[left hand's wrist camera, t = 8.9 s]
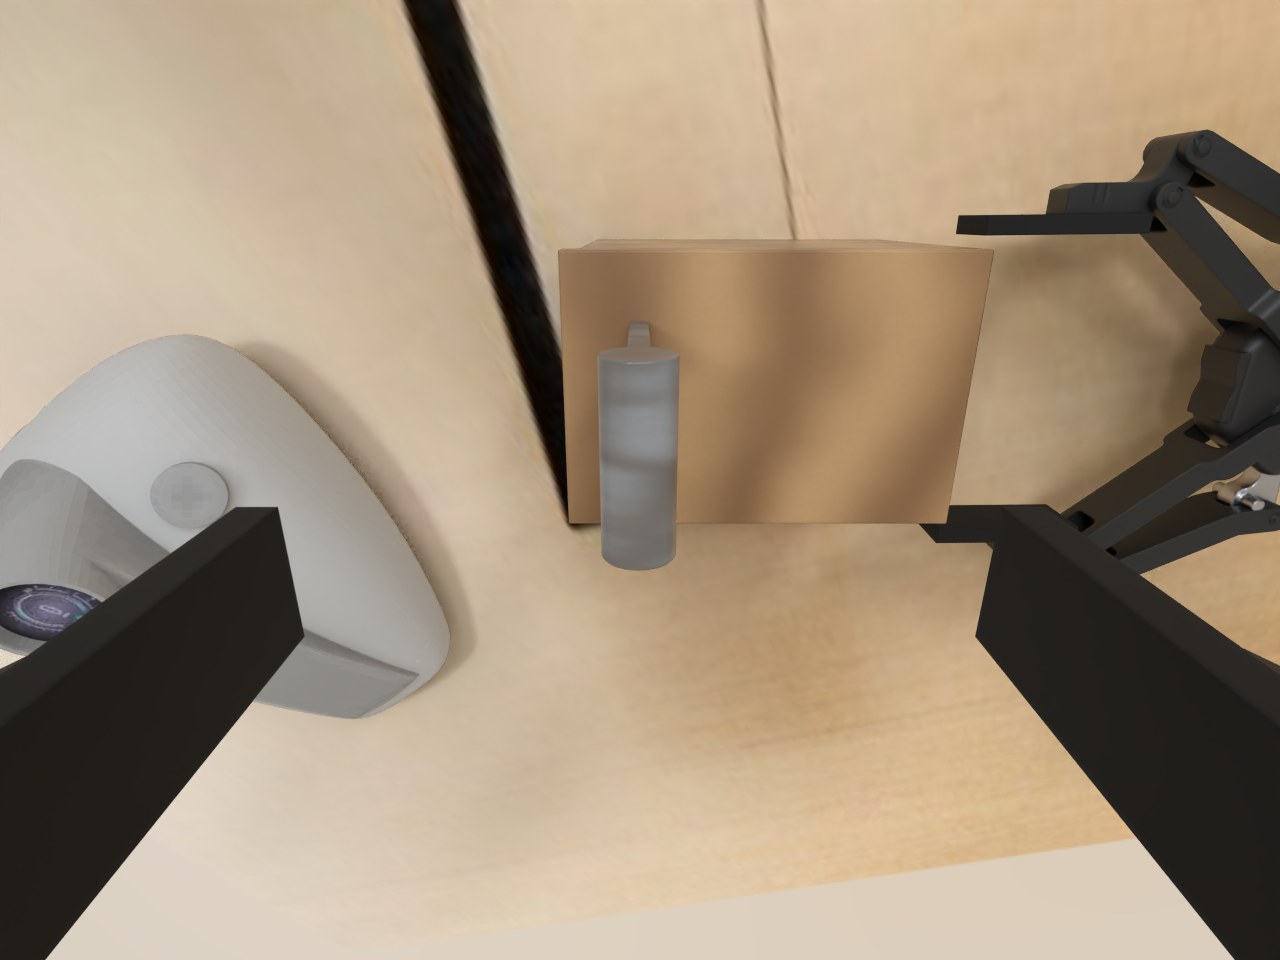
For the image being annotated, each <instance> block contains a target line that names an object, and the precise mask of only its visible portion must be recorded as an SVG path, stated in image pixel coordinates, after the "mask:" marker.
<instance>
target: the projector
mask: <svg viewBox="0 0 1280 960" xmlns="http://www.w3.org/2000/svg"><path fill="white" fill-rule="evenodd" d="M235 507H278V509H279V514H280V519H281V524H282V529H283V533H284V538H285V543H286V548H287V553H288V558H289V563H290V567H291V572H292V577H293V582H294V587H295V592H296V597H297V601H298V606H299V611H300V616H301V621H302V626H303V631H304V635H305V637H304V638H303V639H302V640H301V642H300V643H299V644H298V645H297V647H296V648H295V649H294V650H293V652H292V653H291V654H290V655H289V657H288V658H287V659H286V660H285V662H284V663H283V664H282V665H281V667H280V668H279V669H278V670H277V672H276V673H275V674H274V675H273V677H272V678H271V679H270V680H269V682H268V683H267V684H266V685H265V687H264V688H263V689H262V690H261V692H260V693H259V694H258V695H257V697H256V698H255V699H254V700H253V702H257V703H262V704H266V705H271V706H275V707H280V708H284V709H289V710H295V711H300V712H306V713H311V714H317V715H322V716H329V717H337V718H345V719H360V718H365V717H369V716H372V715H375V714H377V713H380V712H382V711H384V710H386V709H387V708H389V707H391V706H393V705H394V704H396V703H398V702H399V701H401V700H402V699H404V698H405V697H407V696H408V695H410V694H411V693H413V692H414V691H416V690H417V689H419V688H420V687H421V686H423V685H424V684H425V683H426V682H428V681H429V680H430V679H431V678H432V677H433V676H434V675H435V674H436V673H437V672H438V671H439V670H440V668H441V667H442V666H443V664H444V662H445V660H446V658H447V655H448V651H449V647H450V632H449V628H448V624H447V622H446V619H445V616H444V613H443V611H442V608H441V606H440V604H439V602H438V600H437V597H436V595H435V593H434V591H433V589H432V587H431V585H430V583H429V581H428V579H427V577H426V575H425V573H424V571H423V569H422V568H421V566H420V564H419V562H418V561H417V559H416V557H415V555H414V554H413V552H412V550H411V548H410V547H409V545H408V543H407V542H406V540H405V538H404V537H403V535H402V534H401V532H400V530H399V529H398V527H397V526H396V524H395V523H394V521H393V520H392V518H391V517H390V515H389V514H388V512H387V511H386V509H385V508H384V506H383V505H382V504H381V502H380V501H379V499H378V498H377V497H376V495H375V494H374V493H373V491H372V490H371V489H370V487H369V486H368V485H367V483H366V482H365V481H364V479H363V478H362V477H361V475H360V474H359V473H358V472H357V470H356V469H355V468H354V467H353V465H352V464H351V463H350V462H349V460H348V459H347V458H346V457H345V456H344V454H343V453H342V452H341V451H340V449H339V448H338V447H337V446H336V445H335V444H334V443H333V441H332V440H331V439H330V438H329V437H328V436H327V434H326V433H325V432H324V431H323V430H322V429H321V428H320V426H319V425H318V424H317V423H316V422H315V421H314V420H313V419H312V418H311V417H310V416H309V414H308V413H307V412H306V411H305V410H304V409H303V408H302V407H301V406H300V405H299V404H298V403H297V402H296V401H295V400H294V399H293V398H292V397H291V396H290V395H289V394H288V393H287V392H286V391H285V390H284V389H283V388H282V387H281V386H280V385H279V384H278V383H277V382H276V381H275V380H274V379H273V378H271V377H270V376H269V375H268V374H267V373H266V372H265V371H264V370H263V369H261V368H260V367H259V366H257V365H256V364H255V363H254V362H252V361H251V360H250V359H248V358H247V357H246V356H244V355H243V354H241V353H239V352H238V351H236V350H235V349H233V348H231V347H230V346H227V345H225V344H223V343H221V342H219V341H216V340H213V339H210V338H207V337H202V336H197V335H171V336H166V337H161V338H156V339H152V340H149V341H146V342H143V343H140V344H137V345H134V346H132V347H130V348H127V349H125V350H123V351H121V352H119V353H117V354H115V355H113V356H111V357H110V358H108V359H106V360H105V361H103V362H101V363H100V364H98V365H97V366H95V367H94V368H92V369H91V370H90V371H88V372H87V373H85V374H84V375H83V376H81V377H80V378H79V379H78V380H76V381H75V382H74V383H72V384H71V385H70V386H69V387H67V388H66V389H65V390H64V391H62V392H61V393H60V394H59V395H58V396H56V397H55V398H54V399H53V400H52V401H51V402H49V403H48V404H47V405H46V406H45V407H44V408H43V409H42V410H41V411H40V412H39V414H38V415H37V416H36V417H35V418H34V419H33V420H32V421H31V422H30V423H29V424H27V425H26V426H24V427H23V428H22V429H21V430H20V431H18V432H17V433H16V434H15V435H14V437H13V438H12V439H11V440H10V441H9V442H8V443H7V444H6V446H5V447H4V448H3V449H2V450H1V451H0V649H3V650H6V651H8V652H11V653H14V654H18V655H23V656H27V655H29V654H30V653H32V652H33V651H34V650H36V649H37V648H39V647H40V646H41V645H43V644H44V643H46V642H47V641H48V640H50V639H51V638H53V637H54V636H55V635H57V634H58V633H60V632H61V631H62V630H64V629H65V628H67V627H68V626H69V625H71V624H72V623H74V622H75V621H76V620H78V619H79V618H81V617H82V616H83V615H85V614H86V613H88V612H89V611H90V610H92V609H93V608H95V607H96V606H97V605H99V604H100V603H102V602H103V601H105V600H106V599H107V598H109V597H110V596H112V595H113V594H114V593H116V592H117V591H119V590H120V589H121V588H123V587H124V586H126V585H127V584H128V583H130V582H131V581H133V580H134V579H135V578H137V577H138V576H140V575H141V574H142V573H144V572H145V571H147V570H148V569H149V568H151V567H152V566H154V565H155V564H156V563H158V562H159V561H161V560H162V559H163V558H165V557H166V556H168V555H169V554H170V553H172V552H173V551H175V550H176V549H177V548H179V547H180V546H182V545H183V544H184V543H186V542H187V541H189V540H190V539H191V538H193V537H194V536H196V535H197V534H198V533H200V532H201V531H203V530H204V529H205V528H207V527H208V526H210V525H211V524H212V523H214V522H215V521H217V520H218V519H219V518H221V517H222V516H224V515H225V514H227V513H228V512H229V511H231V510H232V509H234V508H235Z"/></svg>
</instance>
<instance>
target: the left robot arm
mask: <svg viewBox="0 0 1280 960" xmlns="http://www.w3.org/2000/svg"><path fill="white" fill-rule="evenodd" d="M304 637H305V635H304V631H303V626H302V621H301V616H300V611H299V606H298V601H297V597H296V592H295V587H294V582H293V577H292V572H291V567H290V563H289V558H288V553H287V548H286V543H285V538H284V533H283V529H282V524H281V519H280V514H279V509H278V507H235V508H234V509H232V510H231V511H229V512H228V513H227V514H225V515H224V516H222V517H221V518H219V519H218V520H217V521H215V522H214V523H212V524H211V525H210V526H208V527H207V528H205V529H204V530H203V531H201V532H200V533H198V534H197V535H196V536H194V537H193V538H191V539H190V540H189V541H187V542H186V543H184V544H183V545H182V546H180V547H179V548H177V549H176V550H175V551H173V552H172V553H170V554H169V555H168V556H166V557H165V558H163V559H162V560H161V561H159V562H158V563H156V564H155V565H154V566H152V567H151V568H149V569H148V570H147V571H145V572H144V573H142V574H141V575H140V576H138V577H137V578H135V579H134V580H133V581H131V582H130V583H128V584H127V585H126V586H124V587H123V588H121V589H120V590H119V591H117V592H116V593H114V594H113V595H112V596H110V597H109V598H107V599H106V600H105V601H103V602H102V603H100V604H99V605H97V606H96V607H95V608H93V609H92V610H90V611H89V612H88V613H86V614H85V615H83V616H82V617H81V618H79V619H78V620H76V621H75V622H74V623H72V624H71V625H69V626H68V627H67V628H65V629H64V630H62V631H61V632H60V633H58V634H57V635H55V636H54V637H53V638H51V639H50V640H48V641H47V642H46V643H44V644H43V645H41V646H40V647H39V648H37V649H36V650H34V651H33V652H32V653H30V654H29V655H27V656H26V657H24V658H22V659H20V660H18V661H16V662H14V663H12V664H9V665H7V666H5V667H3V668H1V669H0V960H45V959H46V958H47V957H48V956H49V954H50V953H51V952H52V951H53V949H54V948H55V947H56V946H57V944H58V943H59V942H60V941H61V939H62V938H63V937H64V936H65V935H66V933H67V932H68V931H69V930H70V928H71V927H72V926H73V925H74V923H75V922H76V921H77V920H78V918H79V917H80V916H81V915H82V913H83V912H84V911H85V910H86V908H87V907H88V906H89V905H90V903H91V902H92V901H93V900H94V898H95V897H96V896H97V895H98V893H99V892H100V891H101V890H102V888H103V887H104V886H105V885H106V883H107V882H108V881H109V880H110V878H111V877H112V876H113V875H114V873H115V872H116V871H117V870H118V869H119V867H120V866H121V865H122V864H123V862H124V861H125V860H126V859H127V857H128V856H129V855H130V854H131V852H132V851H133V850H134V849H135V847H136V846H137V845H138V844H139V842H140V841H141V840H142V839H143V837H144V836H145V835H146V834H147V832H148V831H149V830H150V829H151V827H152V826H153V825H154V824H155V822H156V821H157V820H158V819H159V817H160V816H161V815H162V814H163V812H164V811H165V810H166V809H167V807H168V806H169V805H170V804H171V802H172V801H173V800H174V799H175V797H176V796H177V795H178V794H179V792H180V791H181V790H182V789H183V788H184V786H185V785H186V784H187V783H188V781H189V780H190V779H191V778H192V776H193V775H194V774H195V773H196V771H197V770H198V769H199V768H200V766H201V765H202V764H203V763H204V761H205V760H206V759H207V758H208V756H209V755H210V754H211V753H212V751H213V750H214V749H215V748H216V746H217V745H218V744H219V743H220V741H221V740H222V739H223V738H224V736H225V735H226V734H227V733H228V731H229V730H230V729H231V728H232V726H233V725H234V724H235V723H236V721H237V720H238V719H239V718H240V716H241V715H242V714H243V713H244V711H245V710H246V709H247V708H248V707H249V705H250V704H251V703H252V702H253V700H254V699H255V698H256V697H257V695H258V694H259V693H260V692H261V690H262V689H263V688H264V687H265V685H266V684H267V683H268V682H269V680H270V679H271V678H272V677H273V675H274V674H275V673H276V672H277V670H278V669H279V668H280V667H281V665H282V664H283V663H284V662H285V660H286V659H287V658H288V657H289V655H290V654H291V653H292V652H293V650H294V649H295V648H296V647H297V645H298V644H299V643H300V642H301V640H302V639H303V638H304ZM975 637H976V638H977V639H978V640H979V642H980V643H981V644H982V645H983V647H984V648H985V649H986V650H987V652H988V653H989V654H990V655H991V657H992V658H993V659H994V660H995V662H996V663H997V664H998V665H999V667H1000V668H1001V669H1002V670H1003V672H1004V673H1005V674H1006V675H1007V677H1008V678H1009V679H1010V680H1011V682H1012V683H1013V684H1014V685H1015V687H1016V688H1017V689H1018V690H1019V692H1020V693H1021V694H1022V695H1023V697H1024V698H1025V699H1026V700H1027V702H1028V703H1029V704H1030V705H1031V707H1032V708H1033V709H1034V710H1035V711H1036V713H1037V714H1038V715H1039V716H1040V718H1041V719H1042V720H1043V721H1044V723H1045V724H1046V725H1047V726H1048V728H1049V729H1050V730H1051V731H1052V733H1053V734H1054V735H1055V736H1056V738H1057V739H1058V740H1059V741H1060V743H1061V744H1062V745H1063V746H1064V748H1065V749H1066V750H1067V751H1068V753H1069V754H1070V755H1071V756H1072V758H1073V759H1074V760H1075V761H1076V763H1077V764H1078V765H1079V766H1080V768H1081V769H1082V770H1083V771H1084V773H1085V774H1086V775H1087V776H1088V778H1089V779H1090V780H1091V781H1092V783H1093V784H1094V785H1095V786H1096V788H1097V789H1098V790H1099V791H1100V792H1101V794H1102V795H1103V796H1104V797H1105V799H1106V800H1107V801H1108V802H1109V804H1110V805H1111V806H1112V807H1113V809H1114V810H1115V811H1116V812H1117V814H1118V815H1119V816H1120V817H1121V819H1122V820H1123V821H1124V822H1125V824H1126V825H1127V826H1128V827H1129V829H1130V830H1131V831H1132V832H1133V834H1134V835H1135V836H1136V837H1137V839H1138V840H1139V841H1140V842H1141V844H1142V845H1143V846H1144V847H1145V849H1146V850H1147V851H1148V852H1149V854H1150V855H1151V856H1152V857H1153V859H1154V860H1155V861H1156V862H1157V863H1158V865H1159V866H1160V867H1161V869H1162V870H1163V871H1164V872H1165V873H1166V875H1167V876H1168V877H1169V878H1170V880H1171V881H1172V882H1173V883H1174V885H1175V886H1176V887H1177V888H1178V890H1179V891H1180V892H1181V893H1182V895H1183V896H1184V897H1185V898H1186V900H1187V901H1188V902H1189V903H1190V905H1191V906H1192V907H1193V908H1194V910H1195V911H1196V912H1197V913H1198V915H1199V916H1200V917H1201V918H1202V920H1203V921H1204V922H1205V923H1206V925H1207V926H1208V927H1209V928H1210V930H1211V931H1212V932H1213V933H1214V935H1215V936H1216V937H1217V938H1218V940H1219V941H1220V942H1221V943H1222V945H1223V946H1224V947H1225V948H1226V950H1227V951H1228V952H1229V953H1230V954H1231V956H1232V957H1233V958H1234V959H1235V960H1280V666H1279V665H1277V664H1275V663H1273V662H1271V661H1269V660H1266V659H1264V658H1262V657H1260V656H1258V655H1256V654H1254V653H1252V652H1250V651H1248V650H1246V649H1243V648H1241V647H1240V646H1239V645H1237V644H1236V643H1234V642H1233V641H1232V640H1230V639H1229V638H1227V637H1226V636H1225V635H1223V634H1222V633H1220V632H1219V631H1218V630H1216V629H1215V628H1213V627H1212V626H1211V625H1209V624H1208V623H1206V622H1205V621H1204V620H1202V619H1201V618H1199V617H1198V616H1197V615H1195V614H1194V613H1192V612H1191V611H1190V610H1188V609H1187V608H1185V607H1184V606H1183V605H1181V604H1180V603H1178V602H1177V601H1175V600H1174V599H1173V598H1171V597H1170V596H1168V595H1167V594H1166V593H1164V592H1163V591H1161V590H1160V589H1159V588H1157V587H1156V586H1154V585H1153V584H1152V583H1150V582H1149V581H1147V580H1146V579H1145V578H1143V577H1142V576H1140V575H1139V574H1138V573H1136V572H1135V571H1133V570H1132V569H1131V568H1129V567H1128V566H1126V565H1125V564H1124V563H1122V562H1121V561H1119V560H1118V559H1117V558H1115V557H1114V556H1112V555H1111V554H1110V553H1108V552H1107V551H1105V550H1104V549H1103V548H1101V547H1100V546H1098V545H1097V544H1096V543H1094V542H1093V541H1091V540H1090V539H1089V538H1087V537H1086V536H1084V535H1083V534H1082V533H1080V532H1079V531H1077V530H1076V529H1075V528H1073V527H1072V526H1070V525H1069V524H1068V523H1066V522H1065V521H1063V520H1062V519H1061V518H1059V517H1058V516H1056V515H1055V514H1053V513H1052V512H1051V511H1049V510H1048V509H1046V508H1045V507H1002V509H1001V514H1000V519H999V524H998V529H997V533H996V538H995V543H994V548H993V553H992V558H991V563H990V567H989V572H988V577H987V582H986V587H985V592H984V597H983V601H982V606H981V611H980V616H979V621H978V626H977V631H976V635H975Z"/></svg>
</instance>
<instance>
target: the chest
mask: <svg viewBox="0 0 1280 960" xmlns="http://www.w3.org/2000/svg"><path fill="white" fill-rule="evenodd" d="M580 249H977V248H965V247H954V246H943V245H932V244H920V243H909V242H898V241H887V240H595V241H594V242H592V243H590V244H588V245H586V246H584V247H582V248H580Z"/></svg>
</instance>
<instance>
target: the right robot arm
mask: <svg viewBox="0 0 1280 960" xmlns="http://www.w3.org/2000/svg"><path fill="white" fill-rule="evenodd" d="M1143 161H1144V165H1143V166H1142V168H1141V170H1140V171H1139V173H1138V174H1137V175H1136V176H1135V177H1134V178H1133V179H1132V180H1130V181H1128V182H1114V183H1076V184H1063V185H1061V186H1058V187H1056V188H1054V189H1051V190H1050V194H1049V200H1048V205H1047V210H1046V214H1042V215H959V217H958V224H957V231H956V234H967V235H1062V234H1140V235H1141V236H1142V237H1143V238H1144V239H1145V240H1146V242H1147V243H1148V244H1149V245H1150V246H1151V247H1152V248H1153V249H1154V251H1155V252H1156V253H1157V254H1158V255H1159V256H1160V257H1161V258H1162V260H1163V261H1164V262H1165V263H1166V264H1167V265H1168V266H1169V267H1170V269H1171V270H1172V271H1173V272H1174V273H1175V274H1176V275H1177V276H1178V278H1179V279H1180V280H1181V281H1182V282H1183V283H1184V284H1185V285H1186V287H1187V288H1188V289H1189V290H1190V291H1191V292H1192V293H1193V294H1194V296H1195V297H1196V298H1197V299H1198V300H1199V301H1200V302H1201V304H1202V306H1201V307H1200V310H1201V311H1202V313H1203V314H1204V315H1205V316H1206V317H1207V318H1208V319H1209V320H1210V322H1211V323H1212V324H1213V325H1214V326H1215V327H1216V328H1217V329H1218V331H1219V332H1220V333H1221V334H1220V335H1219V336H1218V337H1217V338H1216V340H1215V341H1214V343H1213V344H1212V345H1206V346H1205V349H1204V353H1203V356H1202V360H1201V378H1200V381H1199V382H1198V384H1197V386H1196V388H1195V390H1194V391H1193V393H1192V395H1191V398H1190V402H1189V405H1188V409H1187V411H1189V412H1192V413H1193V418H1192V419H1190V420H1189V421H1187V422H1186V423H1184V424H1183V425H1181V426H1180V427H1178V428H1177V429H1175V430H1174V431H1172V432H1171V433H1169V434H1168V435H1167V436H1166V437H1165V438H1164V440H1163V441H1164V444H1163V446H1162V447H1160V448H1159V449H1157V450H1156V451H1154V452H1153V453H1151V454H1150V455H1148V456H1147V457H1145V458H1144V459H1142V460H1141V461H1139V462H1138V463H1136V464H1135V465H1133V466H1132V467H1130V468H1129V469H1127V470H1126V471H1124V472H1123V473H1121V474H1120V475H1118V476H1117V477H1115V478H1114V479H1112V480H1111V481H1109V482H1108V483H1106V484H1105V485H1103V486H1102V487H1100V488H1099V489H1097V490H1096V491H1094V492H1093V493H1091V494H1090V495H1088V496H1087V497H1085V498H1084V499H1082V500H1081V501H1079V502H1078V503H1076V504H1075V505H1073V506H1072V507H1070V508H1069V509H1067V510H1066V511H1064V512H1063V513H1061V514H1059V513H1058V512H1056V511H1055V510H1053V509H1052V508H1051V507H1049V506H1048V505H1046V504H1038V505H949V510H948V515H947V521H946V523H918V524H919V525H920V526H921V527H922V528H923V529H924V530H925V531H926V532H927V534H928V535H929V536H930V537H931V538H932V539H933V540H934V541H935V542H936V543H986V544H987V545H989V546H990V547H991V548H992V549H993V548H994V543H995V538H996V533H997V529H998V524H999V519H1000V514H1001V509H1002V507H1045V508H1046V509H1048V510H1049V511H1051V512H1052V513H1053V514H1055V515H1056V516H1058V517H1059V518H1061V519H1062V520H1063V521H1065V522H1066V523H1068V524H1069V525H1070V526H1072V527H1073V528H1075V529H1076V530H1077V531H1079V532H1080V533H1082V534H1083V535H1084V536H1086V537H1087V538H1089V539H1090V540H1091V541H1093V542H1094V543H1096V544H1097V545H1098V546H1100V547H1101V548H1103V549H1104V550H1105V551H1107V552H1108V553H1110V554H1111V555H1112V556H1114V557H1115V558H1117V559H1118V560H1119V561H1121V562H1122V563H1124V564H1125V565H1126V566H1128V567H1129V568H1131V569H1132V570H1133V571H1135V572H1136V573H1138V574H1139V575H1140V574H1142V573H1145V572H1147V571H1150V570H1152V569H1155V568H1157V567H1160V566H1162V565H1165V564H1167V563H1170V562H1172V561H1175V560H1177V559H1180V558H1182V557H1185V556H1187V555H1190V554H1192V553H1195V552H1197V551H1200V550H1202V549H1205V548H1207V547H1210V546H1212V545H1215V544H1217V543H1220V542H1222V541H1225V540H1227V539H1230V538H1232V537H1235V536H1237V535H1243V534H1252V533H1262V532H1271V531H1277V530H1280V505H1277V504H1276V500H1277V495H1278V491H1279V486H1280V292H1279V291H1277V290H1275V289H1273V288H1272V287H1271V286H1270V285H1269V283H1268V282H1267V281H1266V280H1265V279H1264V278H1263V276H1262V275H1261V274H1260V273H1259V272H1258V270H1257V269H1256V268H1255V267H1254V266H1253V265H1252V263H1251V262H1250V261H1249V260H1248V259H1247V257H1246V256H1245V255H1244V254H1243V253H1242V252H1241V250H1240V249H1239V248H1238V247H1237V246H1236V244H1235V243H1234V242H1233V241H1232V240H1231V239H1230V237H1229V236H1228V235H1227V234H1226V233H1225V232H1224V230H1223V229H1222V228H1221V227H1220V226H1219V224H1218V223H1217V222H1216V221H1215V220H1214V219H1213V217H1212V216H1211V215H1210V214H1209V213H1208V211H1207V210H1206V209H1205V208H1204V207H1203V206H1202V204H1201V203H1200V202H1199V201H1198V200H1197V198H1196V197H1198V198H1199V199H1201V200H1203V201H1204V202H1206V203H1208V204H1209V205H1211V206H1212V207H1214V208H1216V209H1217V210H1219V211H1221V212H1222V213H1224V214H1226V215H1227V216H1229V217H1230V218H1232V219H1234V220H1235V221H1237V222H1239V223H1240V224H1242V225H1244V226H1245V227H1247V228H1248V229H1250V230H1252V231H1253V232H1255V233H1257V234H1258V235H1260V236H1262V237H1263V238H1265V239H1267V240H1269V241H1271V242H1274V243H1277V244H1280V174H1279V173H1278V172H1276V171H1275V170H1273V169H1271V168H1270V167H1268V166H1267V165H1265V164H1263V163H1262V162H1260V161H1259V160H1257V159H1256V158H1254V157H1252V156H1251V155H1249V154H1248V153H1246V152H1245V151H1243V150H1241V149H1240V148H1238V147H1237V146H1235V145H1234V144H1232V143H1230V142H1229V141H1227V140H1226V139H1224V138H1222V137H1221V136H1219V135H1218V134H1216V133H1215V132H1213V131H1210V130H1202V131H1194V132H1188V133H1181V134H1175V135H1169V136H1164V137H1157V138H1155V139H1153V140H1151V141H1150V142H1149V143H1148V145H1147V146H1146V148H1145V150H1144V152H1143ZM1195 196H1196V197H1195ZM1210 439H1211V440H1212V441H1213V442H1215V443H1216V444H1217V445H1218V446H1219V447H1220V448H1215V447H1212V446H1210V445H1207V444H1205V443H1206V442H1207V441H1209V440H1210ZM1242 471H1244V472H1243V474H1242V475H1241V476H1240V477H1239V478H1238V479H1236V480H1234V481H1231V482H1228V483H1226V484H1225V483H1223V482H1218V483H1216V484H1215V485H1214V486H1213V488H1212V489H1213V491H1212V492H1206V493H1201V494H1198V495H1194V496H1191V497H1188V496H1190V495H1191V494H1193V493H1195V492H1196V491H1198V490H1199V489H1201V488H1202V487H1204V486H1206V485H1207V484H1209V483H1210V482H1212V481H1216V480H1227V479H1230V478H1232V477H1234V476H1236V475H1238V474H1239V473H1241V472H1242ZM1187 497H1188V498H1187ZM1185 498H1186V499H1185Z"/></svg>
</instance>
